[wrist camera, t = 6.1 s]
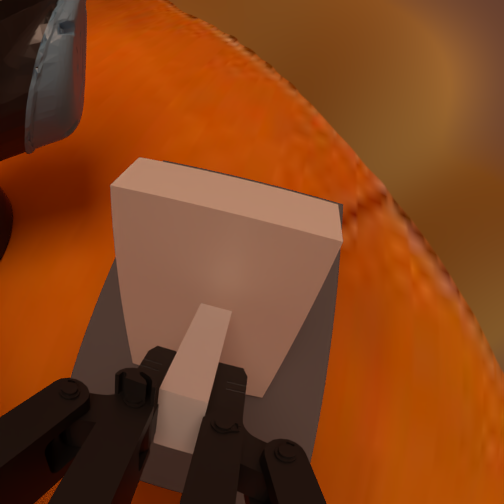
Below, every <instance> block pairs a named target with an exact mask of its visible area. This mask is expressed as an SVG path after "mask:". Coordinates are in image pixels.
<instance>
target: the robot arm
mask: <svg viewBox="0 0 504 504" xmlns="http://www.w3.org/2000/svg"><path fill="white" fill-rule="evenodd" d="M86 37H87V11H86V0H0V161H2V160H5V159H7V158H10V157H13V156H16V155H18V154H21V153H24V152H26V153H27V154H30V153H33V152H34V150H35V149H36V148H39V147H42V146H45V145H47V144H50V143H53V142H56V141H59V140H62V139H64V138H66V137H68V136H69V135H70V134H72V133H73V132H74V130H75V129H76V128H77V126H78V124H79V122H80V119H81V116H82V111H83V103H84V89H85V69H86ZM12 221H13V214H12V207H11V204H10V201H9V200H8V198H7V196H6V195H5V193H4V192H3V190H2V188H1V187H0V259H1V257H2V255H3V253H4V251H5V249H6V246H7V244H8V241H9V238H10V234H11V229H12ZM231 314H232V311H229V310H225V309H221V308H217V307H214V306H210V305H206V304H203V303H201V304H200V306H199V308H198V310H197V312H196V314H195V316H194V318H193V320H192V323H191V325H190V327H189V329H188V331H187V333H186V335H185V337H184V339H183V341H182V343H181V345H180V347H179V349H178V351H174V350H170V349H167V348H164V347H161V346H156V347H154V348H152V349H151V350H149V351H148V352H147V354H146V356H145V357H144V359H143V360H142V362H141V364H140V365H139V367H138V368H124V369H121V370H119V371H118V372H117V373H116V374H115V394H112V395H101V394H94V393H89V390H88V387H87V386H86V385H85V384H84V383H83V382H81V381H79V380H77V379H73V378H62V379H59V380H57V381H55V382H53V383H52V384H50V385H49V386H47V387H46V388H44V389H43V390H41V391H40V392H38V393H37V394H35V395H34V396H32V397H31V398H29V399H27V400H26V401H24V402H23V403H21V404H20V405H18V406H17V407H15V408H14V409H12V410H11V411H9V412H8V413H6V414H5V415H3V416H2V417H0V504H34V503H35V502H36V501H37V500H38V499H39V498H41V497H42V496H43V495H44V494H45V493H46V492H47V491H48V490H49V489H50V488H52V487H53V486H54V485H55V484H56V483H57V482H58V481H59V480H60V479H61V478H62V477H63V479H62V480H61V482H60V484H59V485H58V487H57V489H56V491H55V492H54V494H53V496H52V497H51V499H50V501H49V503H48V504H130V503H131V501H132V498H133V495H134V493H135V490H136V488H137V485H138V482H139V480H140V477H141V475H142V472H143V470H144V467H145V464H146V462H147V459H148V457H149V454H150V445H151V443H152V440H153V438H154V443H156V444H159V445H162V446H166V447H169V448H172V449H176V450H179V451H183V452H187V453H190V454H193V455H192V459H191V463H190V467H189V470H188V474H187V478H186V482H185V485H184V489H183V493H182V496H181V500H180V504H236V496H237V491H238V492H240V493H242V494H244V500H245V504H326V501H325V499H324V496H323V494H322V492H321V489H320V487H319V484H318V482H317V479H316V477H315V474H314V472H313V470H312V467H311V465H310V462H309V460H308V457H307V455H306V453H305V451H304V450H303V448H302V447H301V446H300V445H298V444H297V443H296V442H293V441H291V440H288V439H281V438H280V439H274V440H272V441H270V442H268V443H266V442H264V441H262V440H260V439H258V438H256V437H254V436H252V435H251V434H250V433H249V432H248V431H247V430H246V429H245V427H244V424H243V412H244V404H245V395H246V386H247V378H248V377H247V375H246V373H245V371H244V369H243V368H240V367H236V366H232V365H228V364H224V363H220V362H219V361H220V357H221V353H222V349H223V345H224V341H225V337H226V333H227V329H228V325H229V321H230V317H231Z"/></svg>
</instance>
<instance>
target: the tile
mask: <svg viewBox="0 0 504 504" xmlns="http://www.w3.org/2000/svg"><path fill="white" fill-rule="evenodd" d="M110 190H111V208H112V222H113V234H114V245H115V254H116V263H117V272H118V279H119V287H120V294H121V301H122V307H123V313H124V319H125V325H126V331H127V336H128V342H129V347H130V352H131V357H132V362H133V363H134V364H137V365H140V364H141V362H142V360H143V359H144V357H145V356H146V354H147V352H148V351H149V350H151V349H152V348H154V347H156V346H161V347H164V348H167V349H170V350H174V351H178V349H179V347H180V345H181V343H182V341H183V339H184V337H185V335H186V333H187V331H188V329H189V327H190V325H191V323H192V320H193V318H194V316H195V314H196V312H197V310H198V308H199V306H200V304H201V303H203V304H206V305H210V306H214V307H217V308H221V309H225V310H229V311H232V314H231V317H230V321H229V325H228V329H227V333H226V337H225V341H224V345H223V349H222V353H221V357H220V361H219V362H220V363H224V364H228V365H232V366H236V367H240V368H243V369H244V371H245V373H246V375H247V377H248V378H247V386H246V394H247V395H251V396H256V397H261V398H262V397H263V396H264V394H265V392H266V390H267V389H268V387H269V385H270V383H271V382H272V380H273V378H274V376H275V375H276V373H277V371H278V369H279V367H280V366H281V364H282V362H283V360H284V358H285V356H286V355H287V353H288V351H289V349H290V347H291V345H292V344H293V342H294V340H295V338H296V336H297V334H298V332H299V330H300V328H301V326H302V325H303V323H304V321H305V319H306V317H307V315H308V313H309V311H310V309H311V307H312V305H313V303H314V301H315V299H316V297H317V295H318V293H319V291H320V289H321V287H322V285H323V283H324V281H325V279H326V277H327V275H328V273H329V271H330V268H331V266H332V264H333V262H334V260H335V258H336V256H337V254H338V252H339V249H340V247H341V245H342V243H343V238H342V230H341V222H340V215H339V208H338V204H335V203H331V202H328V201H324V200H321V199H317V198H313V197H310V196H306V195H302V194H299V193H295V192H291V191H287V190H284V189H280V188H276V187H272V186H268V185H264V184H260V183H256V182H252V181H248V180H244V179H240V178H235V177H231V176H227V175H222V174H218V173H214V172H209V171H205V170H200V169H196V168H191V167H186V166H181V165H177V164H172V163H167V162H162V161H157V160H151V159H146V158H141V157H139V158H138V159H137V160H136V161H135V162H134V163H133V164H132V165H131V166H130V167H129V168H127V169H126V170H125V171H124V172H123V173H122V174H121V175H120V176H119V177H118V178H117V179H116V180H115V181H114V182H113V183H112V184H111V185H110Z"/></svg>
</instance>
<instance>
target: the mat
mask: <svg viewBox="0 0 504 504" xmlns="http://www.w3.org/2000/svg"><path fill="white" fill-rule="evenodd" d="M163 162H167V163H172V164H177V165H181V166H186V167H191V168H196V169H200V170H205V171H209V172H214V173H218V174H222V175H227V176H231V177H235V178H240V179H244V180H248V181H252V182H256V183H260V184H264V185H268V186H272V187H276V188H280V189H284V190H287V191H291V192H295V193H299V194H302V195H306V196H310V197H313V198H317V199H321V200H324V201H328V202H331V203H335V204H338V208H339V215H340V222H341V230H342V214H343V204H339V203H336V202H333V201H329V200H326V199H322V198H318V197H315V196H311V195H308V194H304V193H300V192H297V191H293V190H289V189H285V188H281V187H278V186H274V185H270V184H266V183H262V182H258V181H254V180H250V179H245V178H241V177H237V176H233V175H229V174H224V173H220V172H215V171H211V170H206V169H202V168H197V167H193V166H188V165H183V164H178V163H173V162H168V161H163ZM339 260H340V249H339V252H338V254H337V256H336V258H335V260H334V262H333V264H332V266H331V268H330V271H329V273H328V275H327V277H326V279H325V281H324V283H323V285H322V287H321V289H320V291H319V293H318V295H317V297H316V299H315V301H314V303H313V305H312V307H311V309H310V311H309V313H308V315H307V317H306V319H305V321H304V323H303V325H302V326H301V328H300V330H299V332H298V334H297V336H296V338H295V340H294V342H293V344H292V345H291V347H290V349H289V351H288V353H287V355H286V356H285V358H284V360H283V362H282V364H281V366H280V367H279V369H278V371H277V373H276V375H275V376H274V378H273V380H272V382H271V383H270V385H269V387H268V389H267V390H266V392H265V394H264V396H263V397H262V398H261V397H256V396H251V395H247V394H246V395H245V404H244V412H243V424H244V427H245V429H246V430H247V431H248V432H249V433H250V434H251V435H252V436H254V437H256V438H258V439H260V440H262V441H264V442H266V443H268V442H270V441H272V440H274V439H280V438H281V439H288V440H291V441H293V442H296V443H297V444H298V445H300V446H301V447H302V448H303V450H304V451H305V453H306V455H307V457H308V460H309V462H311V457H312V452H313V447H314V442H315V437H316V432H317V427H318V421H319V416H320V410H321V405H322V399H323V393H324V386H325V380H326V374H327V367H328V360H329V353H330V345H331V338H332V330H333V321H334V312H335V303H336V293H337V283H338V272H339ZM138 367H139V365H137V364H134V363H133V362H132V357H131V352H130V347H129V342H128V336H127V331H126V325H125V319H124V313H123V307H122V301H121V294H120V287H119V279H118V272H117V263H116V257H115V260H114V262H113V264H112V267H111V269H110V271H109V274H108V276H107V279H106V281H105V283H104V286H103V288H102V291H101V293H100V296H99V298H98V301H97V303H96V306H95V309H94V311H93V314H92V317H91V319H90V322H89V325H88V327H87V330H86V333H85V336H84V339H83V342H82V344H81V347H80V350H79V353H78V356H77V359H76V362H75V366H74V369H73V372H72V375H71V378H73V379H77V380H79V381H81V382H83V383H84V384H85V385H86V386H87V387H88V390H89V393H94V394H101V395H112V394H115V374H116V373H117V372H118V371H119V370H121V369H124V368H138ZM192 455H193V454H190V453H187V452H183V451H179V450H176V449H172V448H169V447H166V446H162V445H159V444H156V443H154V438H153V440H152V443H151V445H150V454H149V457H148V459H147V462H146V464H145V467H144V470H143V472H142V475H141V477H140V481H143V482H146V483H149V484H153V485H156V486H159V487H163V488H166V489H169V490H173V491H177V492H181V493H183V489H184V485H185V482H186V478H187V474H188V470H189V467H190V463H191V459H192ZM236 504H245V500H244V494H242V493H240V492H238V491H237V496H236Z"/></svg>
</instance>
